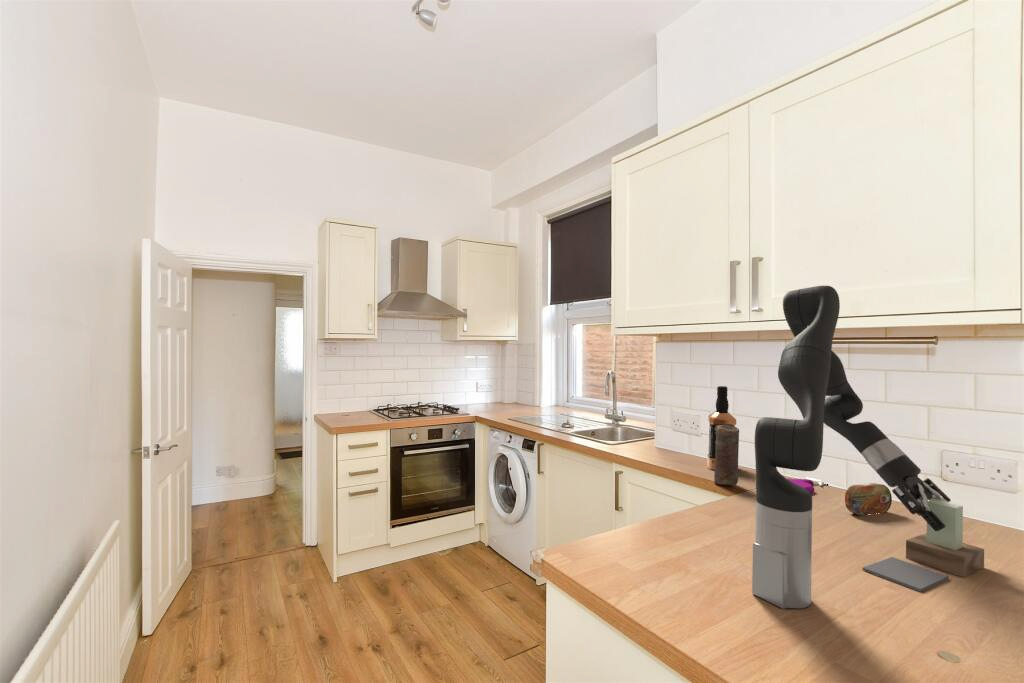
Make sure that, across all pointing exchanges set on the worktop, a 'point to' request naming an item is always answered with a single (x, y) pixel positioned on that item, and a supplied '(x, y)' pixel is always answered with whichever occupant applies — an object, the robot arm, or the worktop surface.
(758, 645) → the worktop surface
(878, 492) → the tin
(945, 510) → the pale green rectangular block
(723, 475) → the candle
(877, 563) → the mat
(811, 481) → the spray bottle
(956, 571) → the brown rectangular box
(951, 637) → the worktop surface
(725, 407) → the whiskey bottle
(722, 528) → the worktop surface
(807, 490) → the robot arm
